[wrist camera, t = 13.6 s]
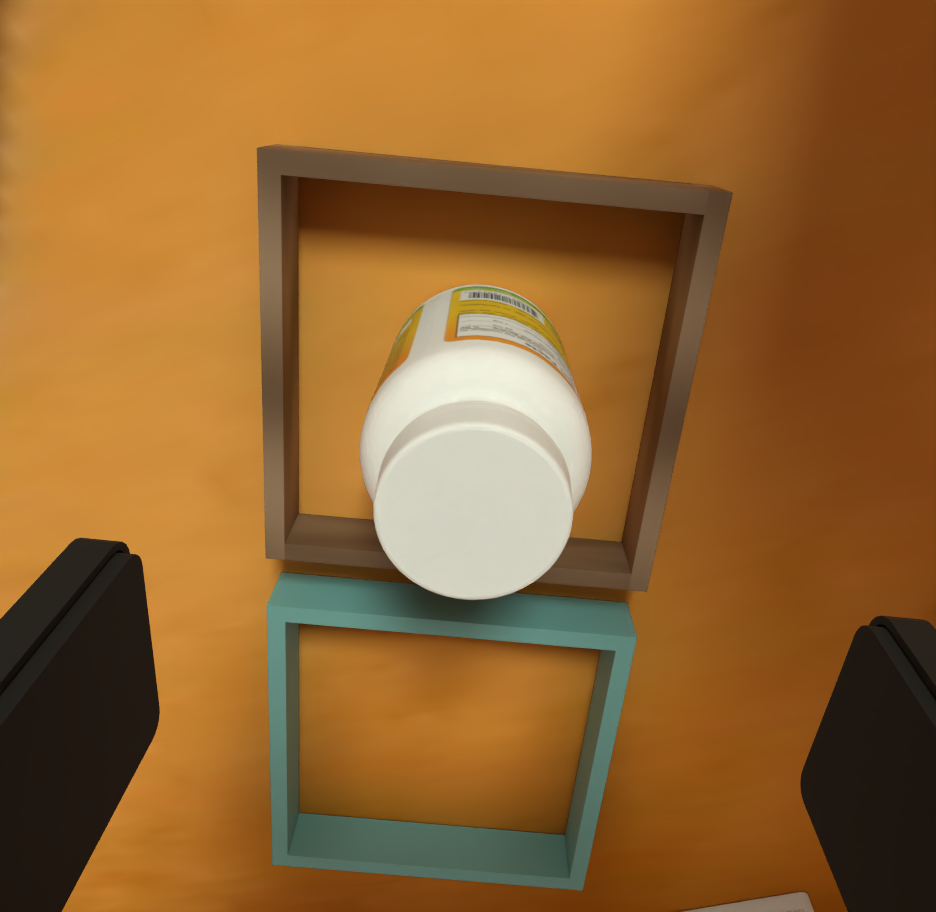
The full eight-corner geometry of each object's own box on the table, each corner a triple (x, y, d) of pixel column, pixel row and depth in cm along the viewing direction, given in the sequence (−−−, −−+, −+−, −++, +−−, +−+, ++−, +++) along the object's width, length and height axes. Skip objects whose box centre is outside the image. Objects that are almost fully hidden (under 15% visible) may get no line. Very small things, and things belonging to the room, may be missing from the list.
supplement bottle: (437, 472, 26) (410, 664, 17) (360, 326, 24) (285, 456, 15) (591, 409, 25) (649, 578, 16) (524, 250, 23) (547, 342, 14)
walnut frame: (276, 144, 22) (256, 147, 20) (712, 185, 22) (732, 192, 20) (280, 527, 27) (265, 558, 25) (636, 558, 27) (646, 591, 25)
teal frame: (281, 572, 27) (266, 605, 26) (627, 602, 28) (636, 637, 26) (284, 822, 32) (272, 864, 31) (577, 846, 33) (582, 890, 31)
